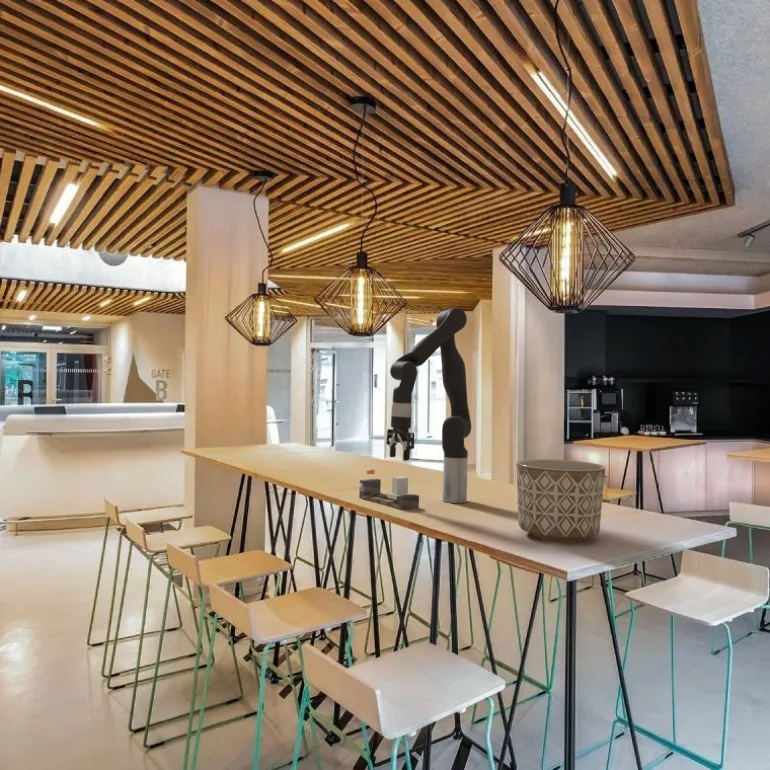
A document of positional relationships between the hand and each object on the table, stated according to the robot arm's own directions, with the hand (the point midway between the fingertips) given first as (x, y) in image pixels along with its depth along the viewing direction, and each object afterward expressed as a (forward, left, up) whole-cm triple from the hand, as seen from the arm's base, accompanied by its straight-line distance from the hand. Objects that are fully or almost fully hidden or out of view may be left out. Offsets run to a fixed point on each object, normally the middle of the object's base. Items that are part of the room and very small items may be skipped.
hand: (399, 458), depth 232 cm
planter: (-53, +35, -18) cm, 66 cm away
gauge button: (+13, -13, -8) cm, 20 cm away
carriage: (-1, +1, -14) cm, 14 cm away
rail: (+5, -4, -17) cm, 18 cm away
